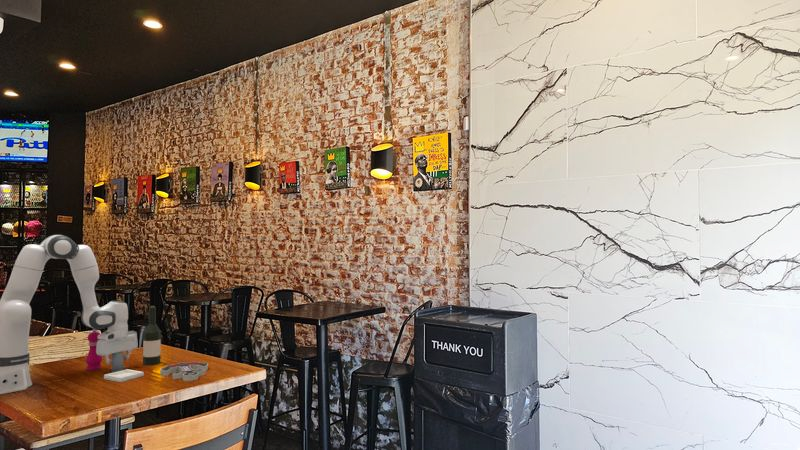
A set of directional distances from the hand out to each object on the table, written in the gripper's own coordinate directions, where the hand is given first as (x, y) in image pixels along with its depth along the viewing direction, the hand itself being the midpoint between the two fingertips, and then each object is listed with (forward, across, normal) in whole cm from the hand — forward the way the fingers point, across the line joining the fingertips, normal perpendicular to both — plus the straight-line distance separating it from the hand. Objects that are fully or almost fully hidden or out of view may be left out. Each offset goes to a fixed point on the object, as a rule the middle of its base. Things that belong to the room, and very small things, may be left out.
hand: (117, 361), depth 262 cm
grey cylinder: (+5, 0, 0) cm, 5 cm away
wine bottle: (+5, -18, +2) cm, 19 cm away
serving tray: (+5, +7, +15) cm, 17 cm away
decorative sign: (+5, -12, +35) cm, 37 cm away
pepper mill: (+5, +3, -14) cm, 15 cm away
